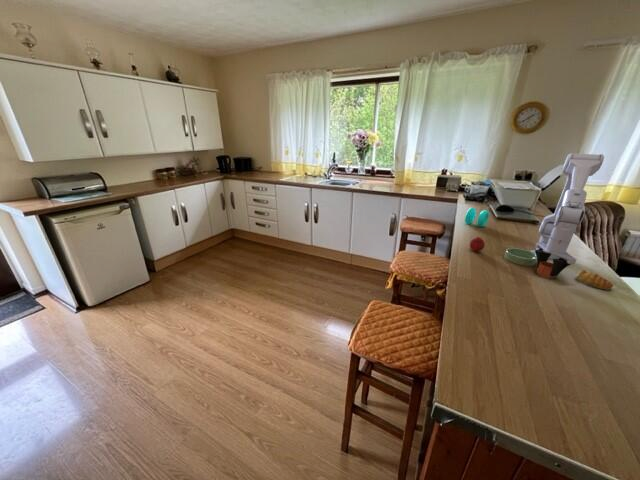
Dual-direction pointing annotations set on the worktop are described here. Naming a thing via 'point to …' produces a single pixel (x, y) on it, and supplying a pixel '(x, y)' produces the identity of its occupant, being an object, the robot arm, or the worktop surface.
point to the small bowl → (545, 269)
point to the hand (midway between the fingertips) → (546, 271)
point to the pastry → (593, 280)
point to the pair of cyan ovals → (481, 218)
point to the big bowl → (520, 256)
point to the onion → (477, 244)
